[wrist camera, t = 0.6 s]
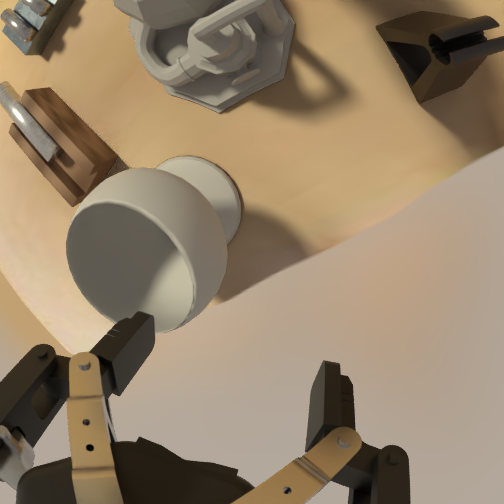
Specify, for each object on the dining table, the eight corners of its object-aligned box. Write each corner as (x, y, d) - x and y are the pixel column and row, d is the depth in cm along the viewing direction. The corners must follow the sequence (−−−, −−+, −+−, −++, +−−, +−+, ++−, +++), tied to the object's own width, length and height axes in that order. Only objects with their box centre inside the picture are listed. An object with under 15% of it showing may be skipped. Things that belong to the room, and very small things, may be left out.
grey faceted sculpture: (115, 5, 23) (21, -18, 10) (225, -66, 18) (174, -138, 4) (190, 130, 30) (104, 160, 17) (320, 62, 24) (335, 22, 11)
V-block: (15, 31, 24) (-8, 31, 20) (48, -23, 20) (25, -27, 15) (40, 55, 26) (15, 55, 22) (77, -5, 22) (52, -11, 18)
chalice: (201, 121, 29) (122, 142, 16) (274, 226, 33) (251, 313, 20) (118, 191, 35) (35, 245, 22) (183, 276, 39) (131, 359, 26)
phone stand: (374, 26, 21) (411, -12, 11) (419, 11, 19) (471, -23, 8) (417, 103, 24) (475, 109, 14) (459, 86, 22) (526, 88, 11)
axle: (4, 98, 27) (-9, 98, 24) (12, 81, 26) (-1, 81, 23) (57, 161, 30) (43, 164, 28) (67, 143, 29) (54, 145, 27)
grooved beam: (32, 126, 32) (8, 132, 28) (49, 87, 29) (24, 90, 25) (94, 194, 35) (72, 207, 31) (118, 156, 32) (94, 165, 28)
